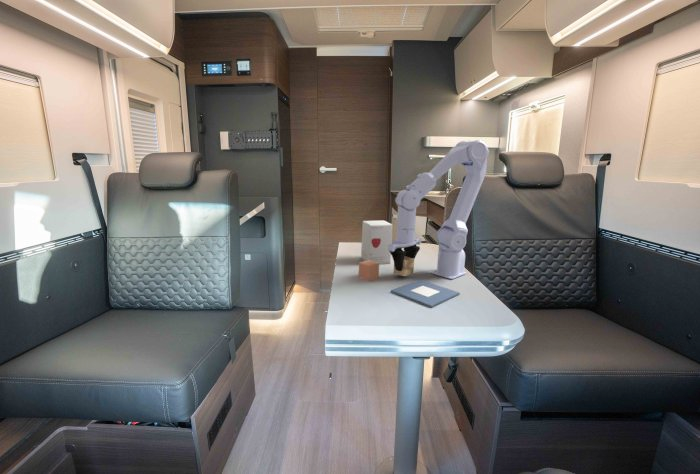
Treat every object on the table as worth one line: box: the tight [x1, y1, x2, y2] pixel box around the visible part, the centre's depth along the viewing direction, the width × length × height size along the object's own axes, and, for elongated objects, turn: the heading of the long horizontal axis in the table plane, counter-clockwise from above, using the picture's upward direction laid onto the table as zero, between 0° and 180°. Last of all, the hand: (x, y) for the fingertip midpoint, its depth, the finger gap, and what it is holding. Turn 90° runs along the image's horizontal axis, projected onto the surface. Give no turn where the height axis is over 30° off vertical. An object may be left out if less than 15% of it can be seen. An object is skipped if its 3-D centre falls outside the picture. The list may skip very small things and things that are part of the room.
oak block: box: [393, 256, 415, 277], centre depth 110 cm, size 5×5×5 cm
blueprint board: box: [390, 279, 461, 309], centre depth 98 cm, size 14×14×1 cm
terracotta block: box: [358, 260, 380, 281], centre depth 109 cm, size 5×5×5 cm
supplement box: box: [360, 219, 393, 265], centre depth 126 cm, size 9×9×15 cm
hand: (403, 268), depth 110 cm, fingers closed on oak block, 5 cm apart
